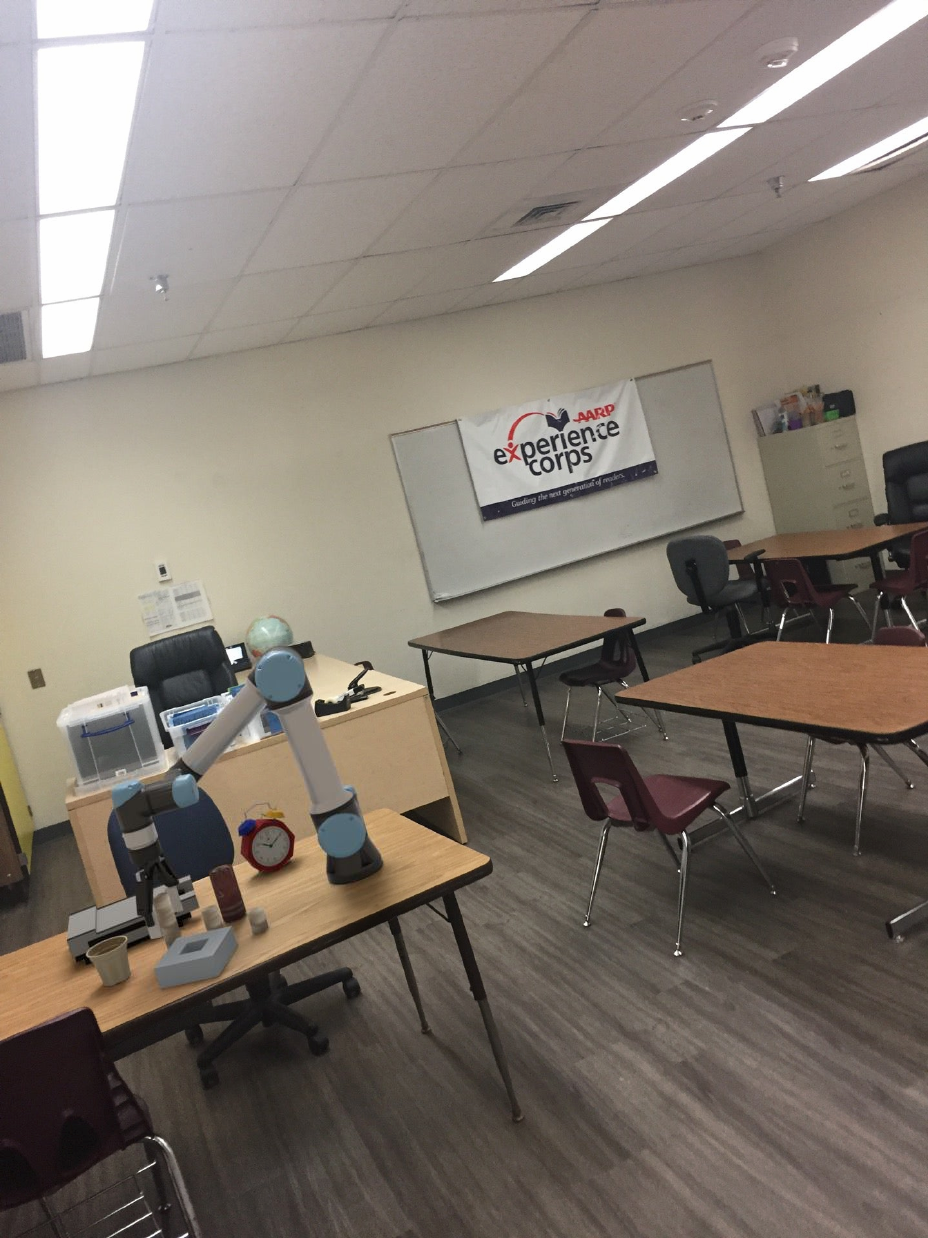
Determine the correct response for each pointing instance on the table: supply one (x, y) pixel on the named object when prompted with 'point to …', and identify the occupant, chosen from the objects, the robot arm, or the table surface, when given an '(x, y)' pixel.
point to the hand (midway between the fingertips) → (167, 924)
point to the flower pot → (111, 960)
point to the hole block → (196, 957)
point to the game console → (121, 921)
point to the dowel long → (166, 918)
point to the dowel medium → (212, 918)
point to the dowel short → (257, 920)
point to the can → (227, 892)
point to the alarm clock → (266, 841)
